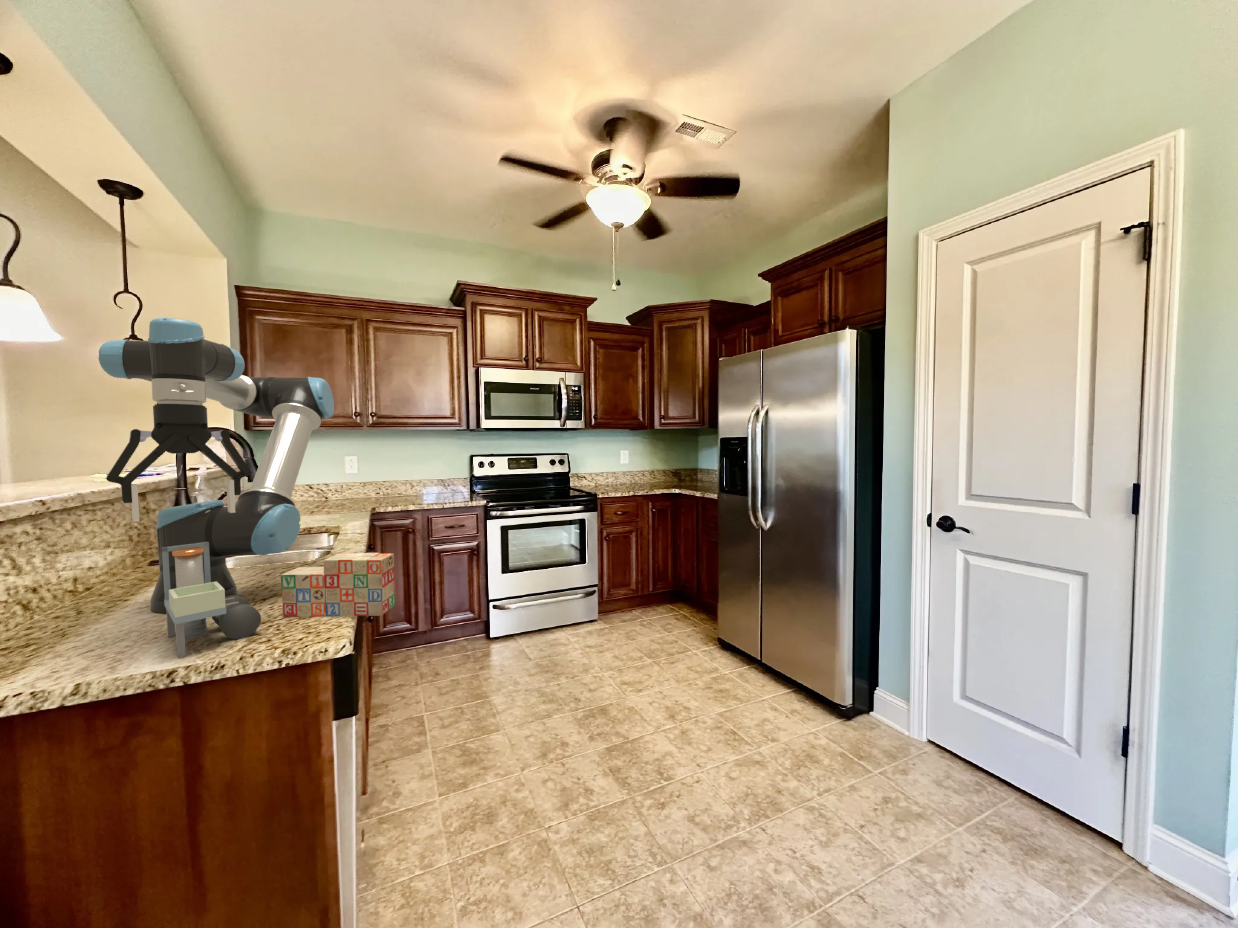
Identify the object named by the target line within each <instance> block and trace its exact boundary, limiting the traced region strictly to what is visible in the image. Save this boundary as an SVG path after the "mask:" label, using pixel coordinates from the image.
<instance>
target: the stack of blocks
mask: <svg viewBox="0 0 1238 928" xmlns="http://www.w3.org/2000/svg"><path fill="white" fill-rule="evenodd" d="M395 578H396V577H395V554H394V553H380V552H366V553H365V552H362V553H361V552H360V553H359V552H358V553H355V552H354V553H337V554H335V555H332V556H330V557H328V558H326V559H323V566H312V567H311V566H308V567H307V566H306V567H304V566H302V567H301V566H299V567H296V568H294V569H291V570H289V571H288V572H285V573H283V574H280V587H281V603H282V617H286V618H287V617H298V618H299V617H303V618H304V617H362V616H363V617H366V616H367V617H370V616H371V617H375V616H376V617H377V616H379V617H380V616H384V615H385V614H387V613H389V611H390V610H392V609H393V608H394V607H396V597H395V596H396V595H395V594H396V591H395V587H396V586H395Z"/></svg>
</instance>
